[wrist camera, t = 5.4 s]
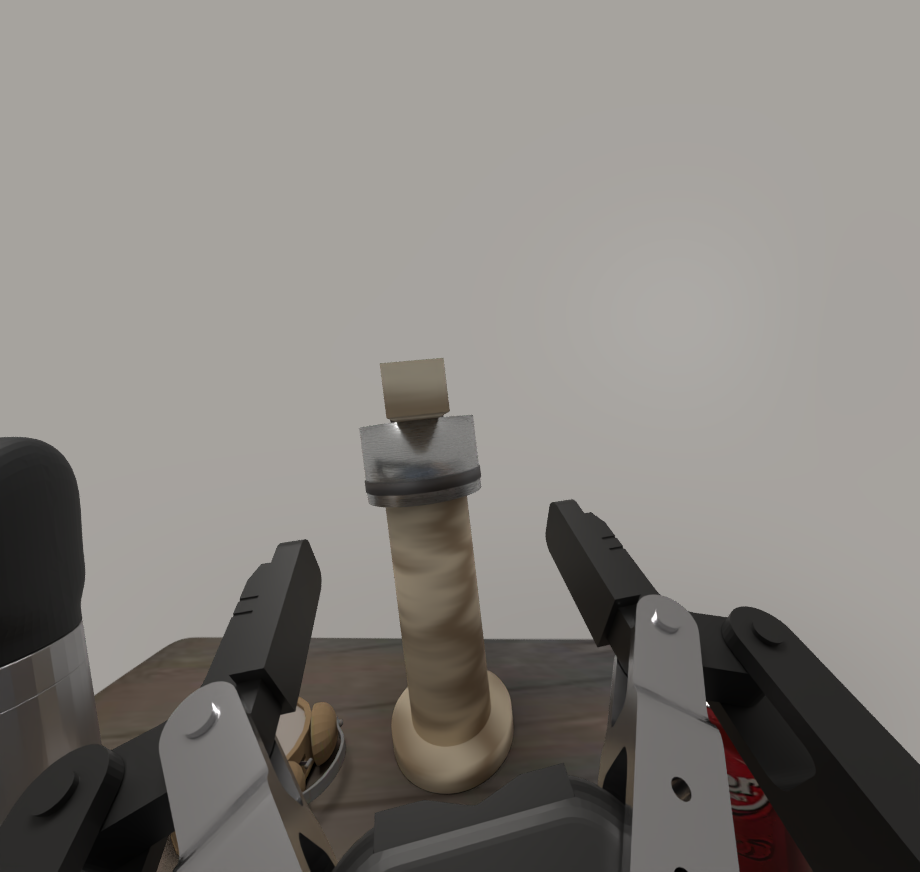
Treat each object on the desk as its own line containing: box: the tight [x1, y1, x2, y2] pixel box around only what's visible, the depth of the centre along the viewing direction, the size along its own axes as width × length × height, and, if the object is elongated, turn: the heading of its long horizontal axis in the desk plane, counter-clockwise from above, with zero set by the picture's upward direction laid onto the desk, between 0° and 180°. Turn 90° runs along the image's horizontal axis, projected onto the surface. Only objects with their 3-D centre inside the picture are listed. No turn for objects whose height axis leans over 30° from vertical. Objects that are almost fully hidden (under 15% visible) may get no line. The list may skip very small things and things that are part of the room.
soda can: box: [706, 702, 813, 872], centre depth 22 cm, size 7×7×12 cm
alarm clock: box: [171, 697, 346, 855], centre depth 29 cm, size 11×5×15 cm
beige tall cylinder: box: [359, 415, 514, 794], centre depth 32 cm, size 12×12×31 cm
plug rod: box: [380, 358, 450, 423], centre depth 27 cm, size 18×5×4 cm, turn 7°
